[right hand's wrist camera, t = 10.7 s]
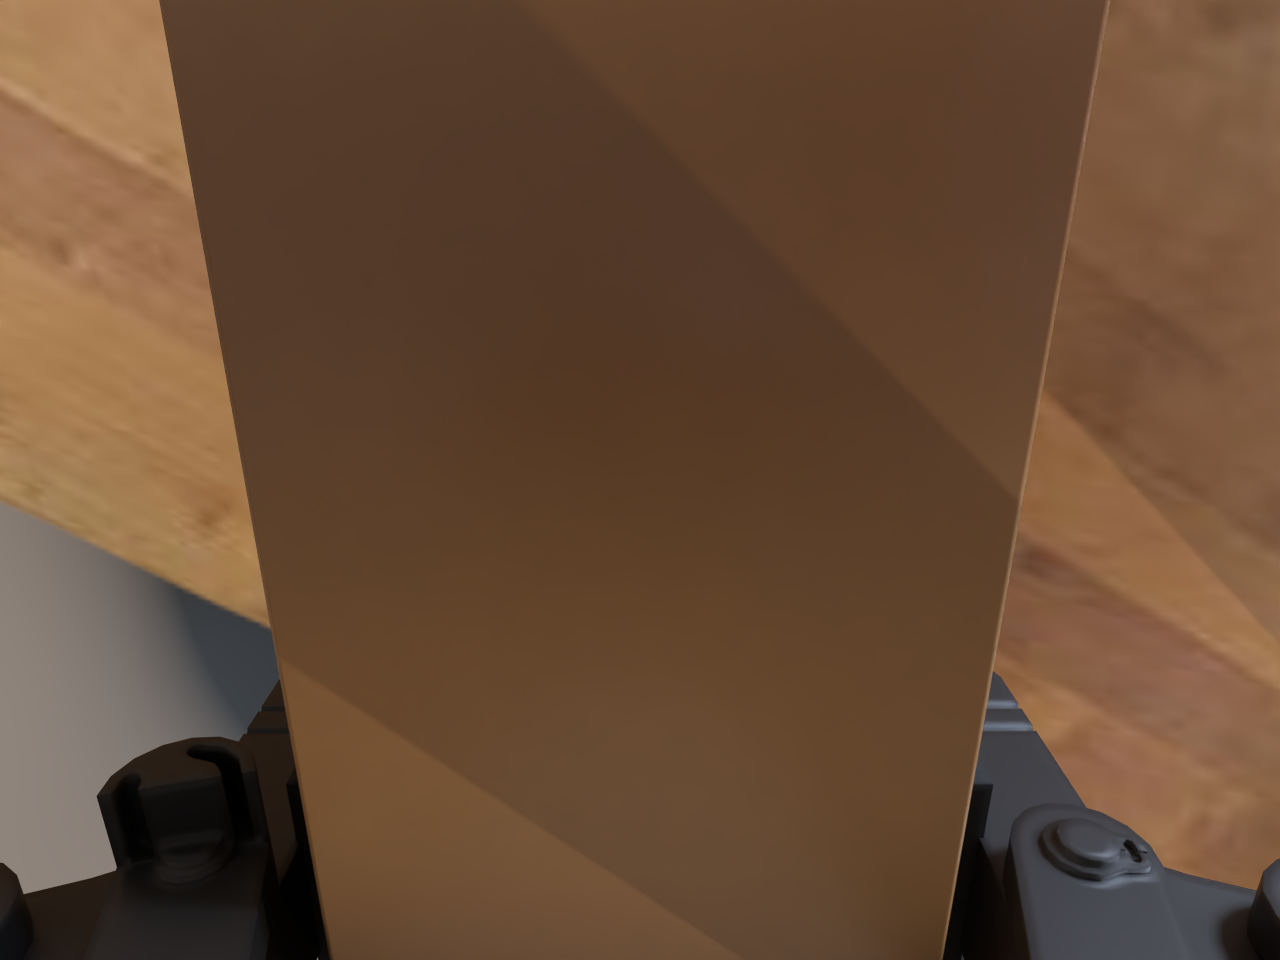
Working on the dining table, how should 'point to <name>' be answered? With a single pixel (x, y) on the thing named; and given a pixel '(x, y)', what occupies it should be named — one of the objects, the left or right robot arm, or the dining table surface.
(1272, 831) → the dining table surface
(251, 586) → the dining table surface
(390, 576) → the post
